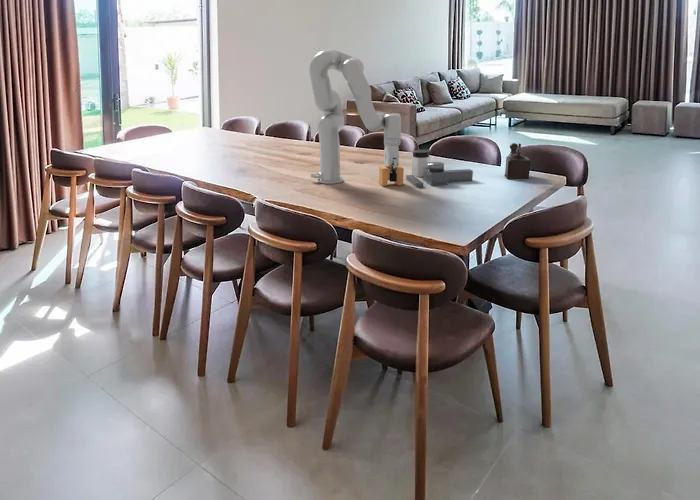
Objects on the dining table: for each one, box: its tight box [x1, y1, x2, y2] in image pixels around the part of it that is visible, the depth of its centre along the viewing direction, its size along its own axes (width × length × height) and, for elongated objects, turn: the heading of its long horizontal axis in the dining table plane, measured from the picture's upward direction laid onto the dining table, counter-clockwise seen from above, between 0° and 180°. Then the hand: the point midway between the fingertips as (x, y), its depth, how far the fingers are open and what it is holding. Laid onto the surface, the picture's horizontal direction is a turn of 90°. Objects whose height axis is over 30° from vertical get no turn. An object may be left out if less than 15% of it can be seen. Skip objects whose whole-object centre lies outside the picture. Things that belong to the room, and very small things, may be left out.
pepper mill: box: [504, 142, 531, 180], centre depth 302 cm, size 16×11×18 cm
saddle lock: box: [378, 164, 405, 187], centre depth 294 cm, size 10×6×8 cm, turn 101°
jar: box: [411, 149, 431, 178], centre depth 312 cm, size 9×8×12 cm
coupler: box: [405, 161, 474, 189], centre depth 298 cm, size 30×18×9 cm, turn 101°
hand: (391, 179), depth 295 cm, fingers closed on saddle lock, 6 cm apart
